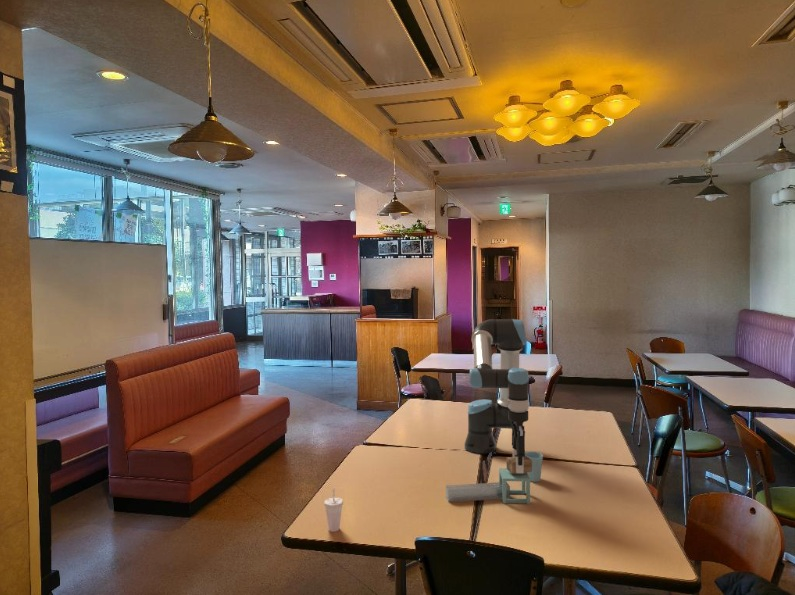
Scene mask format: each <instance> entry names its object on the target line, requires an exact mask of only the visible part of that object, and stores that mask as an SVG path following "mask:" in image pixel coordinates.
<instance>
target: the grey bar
mask: <svg viewBox="0 0 795 595" xmlns="http://www.w3.org/2000/svg"><path fill="white" fill-rule="evenodd" d="M510 490H511V485H510V484H509V483H508V481H506V499H511V494H510ZM445 498H446V500H447V502H448V503H456V502H468V501H467V500H474V501H486V500H500V499H501V500H502V482H499V481H498V482H486V483H485V482H484V483H481V482H480V483H471V484H470V483H468V484H467V483H466V484H449V485H445Z"/></svg>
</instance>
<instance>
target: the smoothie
mask: <svg viewBox="0 0 795 595" xmlns="http://www.w3.org/2000/svg"><path fill="white" fill-rule="evenodd" d="M343 500H344V499H343V498H341V497H336V496H335V487H332V496H331V497H328V498H326V499H325V500H324V501H323V503H324V504H323V505H324V508H325V513H326V521H327V529H328V531H329V532H334V533H335V532H338V531H339V530H340V529H341V527H340V526H341V519H342V508H343V505H344V501H343Z"/></svg>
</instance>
